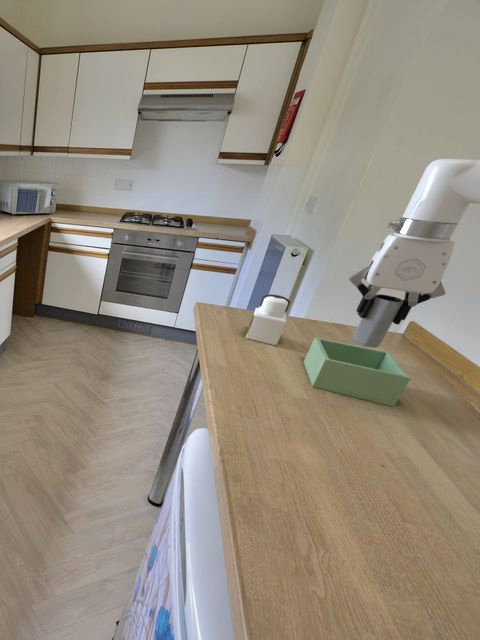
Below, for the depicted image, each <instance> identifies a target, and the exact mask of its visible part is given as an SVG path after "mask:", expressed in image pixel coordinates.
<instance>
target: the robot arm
mask: <svg viewBox="0 0 480 640" xmlns="http://www.w3.org/2000/svg"><path fill="white" fill-rule="evenodd" d="M471 204H475V205H476V204H477V205H480V159H469V158H468V159H467V158H439V159H438V158H437V159H435V160H433V161H431V162H430V163H429V164H428V165H427V166H426V168H425V170H424V172H423V174H422V176H421V177H420V179H419V182H418V184H417V186H416V189H415V190H414V192H413V194H412V196H411V198H410V200H409V202H408V204H407V206H406V207H405V210H404V212H403V214H402V216H401V217H400V218H399V219H398V220H389V222H388V224H387V228H388V229H392V230H393V232H394V233H389V234H388V235H387V236H386V237H385V239H383V241H382V243H381V244H380V245H379V247H378V248H377V250H376V251H375V253H374V254H373V256H372V258H371V260H370V261H369V263H368V265H366V267H365V268H363V269H360V270H359V271H358V272H356V273H354V274H353V275H351V276H349V278H348V280H349V281H350V282H351V283H352V285H354V287H355V288H356V289H357V291H359V293H360V294H361V296H362V297H361V300H360V302H359V304H358V306H357V307H356V313H357V315H358V316H359V318H361V319H362V318H366V317H367V315H368V313H369V311H370V309H371V307H372V305H373V303H374V301H373V298H374V296H375V295H376V294H378V292H380V290H381V289H387V290H395V291H400V292H401V291H402V292H404V298H403V299H402V300H403V301H404V302H403V304H402V306H401V307H400V309H399V311H398V313H397V315H396V317H395V318H394V320H393V322H392V324H394V325H400V324H401V323H402V321H405V320H406V318H407V316H408V315H409V313H410V311H411V309H412V308H414V307H416V306H417V305H418V304H422V303H424V302H426V301H429V300H430V299H435V298H438V297H442V296H445V295H446V294H447V293H446V289H445V287H444V286H443V283H442V278H443V277H444V276H445V275H444V274H445V272H446V270H447V268H448V265H449V262H450V260H451V257H452V254H453V251H454V247H455V244H456V242H455V241H452V240H451V238H452V237H453V234H454V233H455V231H456V229H457V227H458V225H459V224H460V222H461V220H462V218H463V216H464V214H465V212H466V211H467V209H468V207H469V205H471ZM362 280H365V281H366V282H367V284H368V285H367V286H366V284H364V283H363V282H362Z"/></svg>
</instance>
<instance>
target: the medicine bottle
mask: <svg viewBox="0 0 480 640" xmlns="http://www.w3.org/2000/svg"><path fill="white" fill-rule="evenodd" d="M290 304H291V301H290V299H288V298H287V297H285V296H283V295H280V294H279V295H278V294H266V295H263V296H262V299H261V301H260V304H259V306H258V307H256V308H255V309H254V311H253V315H252V317H251V319H250V322H249V324H248V328H247V331H246V334H245V339H247V340H251V341H255V342H258V343H263V344H268V345H271V346H278V343H279V341H280V339H281V336H282V333H283V331H284V328H285V326H286V324H287V312H288V309H289V306H290Z"/></svg>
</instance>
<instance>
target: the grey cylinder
mask: <svg viewBox="0 0 480 640" xmlns="http://www.w3.org/2000/svg"><path fill="white" fill-rule="evenodd" d="M403 300H404V299H401V298H399V297H396V296H392V295H388V294H380V293H376V295H375V296H374V298H373V301H374V303H373V305H372V307H371V309H370V311H369V313H368V315H367V317H366V318H361V320H360V322H359V324H358V326H357V328H356V329H355V331H354V334H353V335H352V338H351V341H352V342H354V343H355V344H357V345H360V346H362V347H366V348H373V349H374V348H379V347H380V346H381V344H382V342H383V340H384V339H385V337H386V336H387V333H388V332H389V329H390V328H391V326H392V324H393V320H394V318H395V317H396V315H397V313H398V311H399V309H400V307H401V306H402V304H403V302H404V301H403Z"/></svg>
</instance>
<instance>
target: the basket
mask: <svg viewBox="0 0 480 640" xmlns="http://www.w3.org/2000/svg"><path fill="white" fill-rule="evenodd" d="M303 365H304V367H305V370H306V373H307V376H308V379H309V381H310V384H311V387H313V388H316V389H321V390H325V391H327V392H328V391H329V392H331V393H332V392H333V393H336V394H341V395H345V396H348V397H354V398H357V399H360V400H361V399H362V400H364V401H365V400H366V401H369V402H373V403H378V404H382V405H385V406H390V407H394V408H395V405H397V402H398V400H399V399H400V397H401V395H402V394H403V392H404V390H405V389H406V388H407V385H409V382H410V381H411V379H412V378H411V376H410V375H409V374H408V373H407V372H406V371H405V369H404V368H403V366H401V364H400V363H399V362H398V360H397V359H396V358H395V357H394V356H393V355H392V353H391V352H389V351H385V350H380V349H374V348H371V347H366V346H361V345H360V346H359V345H355V344H351V343H345V342H340V341H335V340H330V339H325V338H320V337H315V336H314V338H313V341H312V343H311V345H310V346H309V349H308V352H307V354H306V356H305V358H304V360H303Z"/></svg>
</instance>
